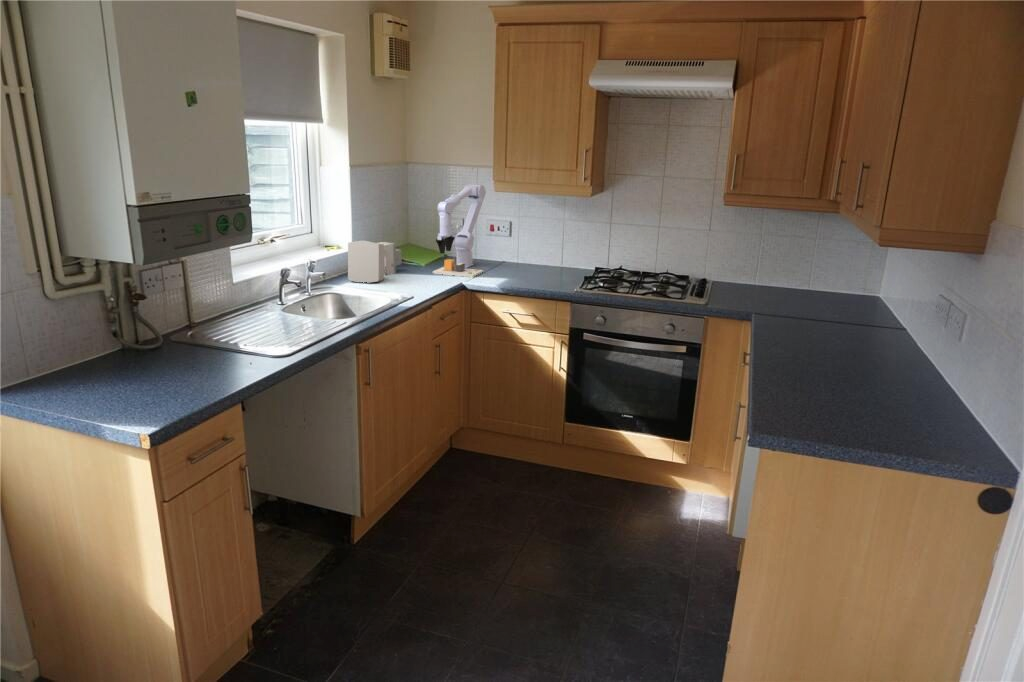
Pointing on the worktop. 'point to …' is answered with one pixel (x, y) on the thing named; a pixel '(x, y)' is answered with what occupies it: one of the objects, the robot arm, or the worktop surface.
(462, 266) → the breaker lever
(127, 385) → the worktop surface
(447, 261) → the cap
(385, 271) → the circuit breaker
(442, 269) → the light wooden flat board
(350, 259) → the electrical switch box
